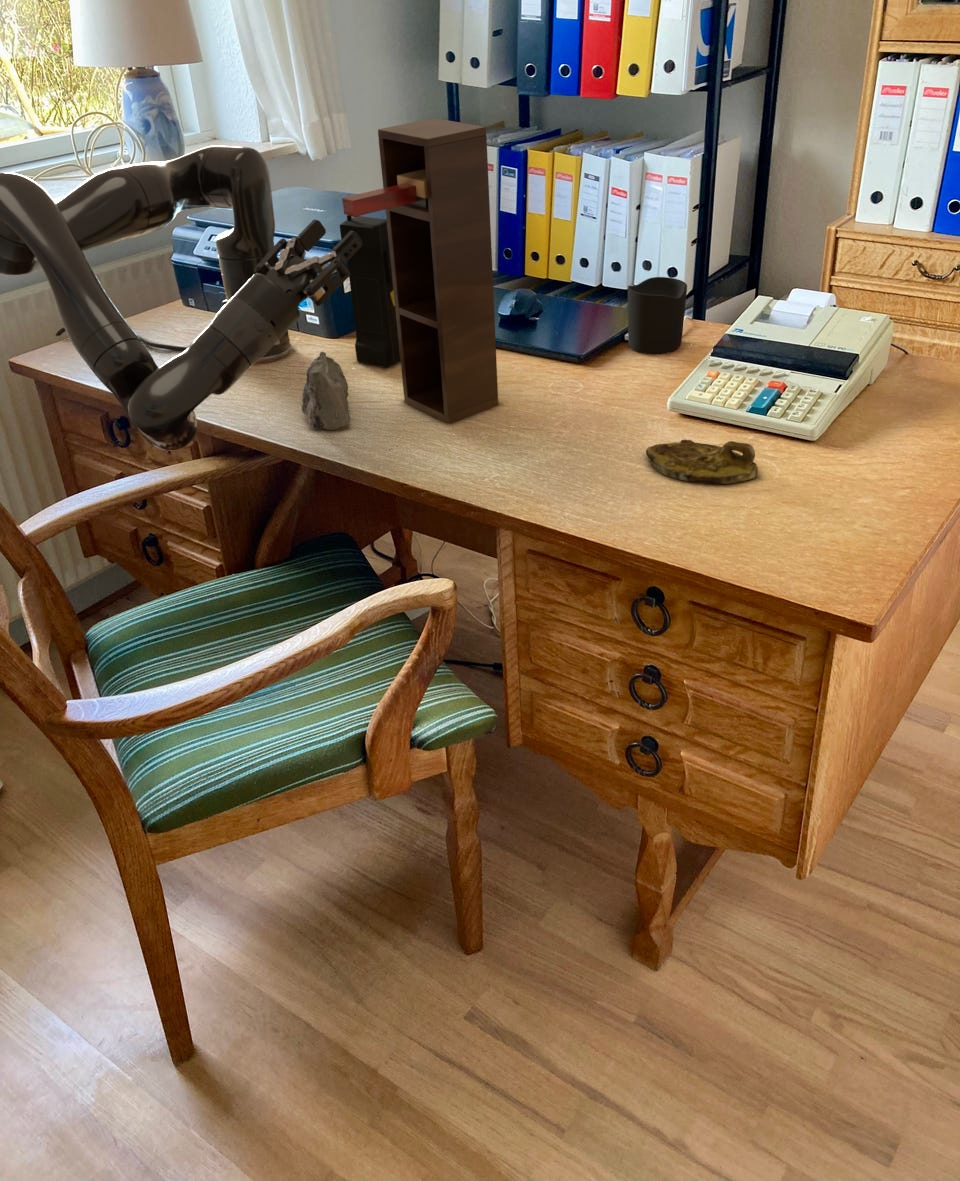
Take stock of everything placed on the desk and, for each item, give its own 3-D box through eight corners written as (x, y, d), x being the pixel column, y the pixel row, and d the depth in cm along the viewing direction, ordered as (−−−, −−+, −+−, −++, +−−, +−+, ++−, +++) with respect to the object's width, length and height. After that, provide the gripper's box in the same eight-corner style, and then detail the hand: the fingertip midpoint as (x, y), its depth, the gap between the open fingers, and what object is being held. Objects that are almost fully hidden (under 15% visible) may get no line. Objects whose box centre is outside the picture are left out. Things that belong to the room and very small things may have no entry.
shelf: (404, 402, 156) (377, 129, 135) (453, 384, 161) (434, 118, 139) (448, 424, 149) (427, 139, 127) (498, 404, 154) (486, 126, 132)
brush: (337, 217, 133) (333, 189, 131) (443, 191, 142) (441, 164, 140) (362, 225, 129) (359, 196, 127) (470, 198, 138) (469, 170, 136)
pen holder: (687, 354, 166) (691, 294, 161) (629, 357, 167) (631, 296, 161) (678, 334, 174) (682, 275, 168) (623, 337, 174) (624, 278, 169)
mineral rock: (329, 391, 161) (320, 329, 156) (387, 401, 157) (380, 338, 151) (279, 424, 152) (268, 359, 146) (339, 436, 147) (330, 369, 142)
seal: (634, 479, 134) (748, 498, 128) (633, 449, 131) (750, 466, 125) (655, 442, 140) (766, 458, 135) (655, 412, 137) (768, 427, 132)
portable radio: (414, 357, 171) (400, 202, 157) (393, 369, 167) (376, 211, 153) (377, 350, 175) (359, 197, 161) (355, 362, 171) (335, 206, 157)
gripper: (244, 328, 136) (325, 242, 138) (300, 355, 126) (386, 263, 129) (208, 286, 130) (293, 198, 133) (264, 312, 121) (355, 216, 123)
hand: (339, 230), depth 131 cm, fingers open, 8 cm apart
